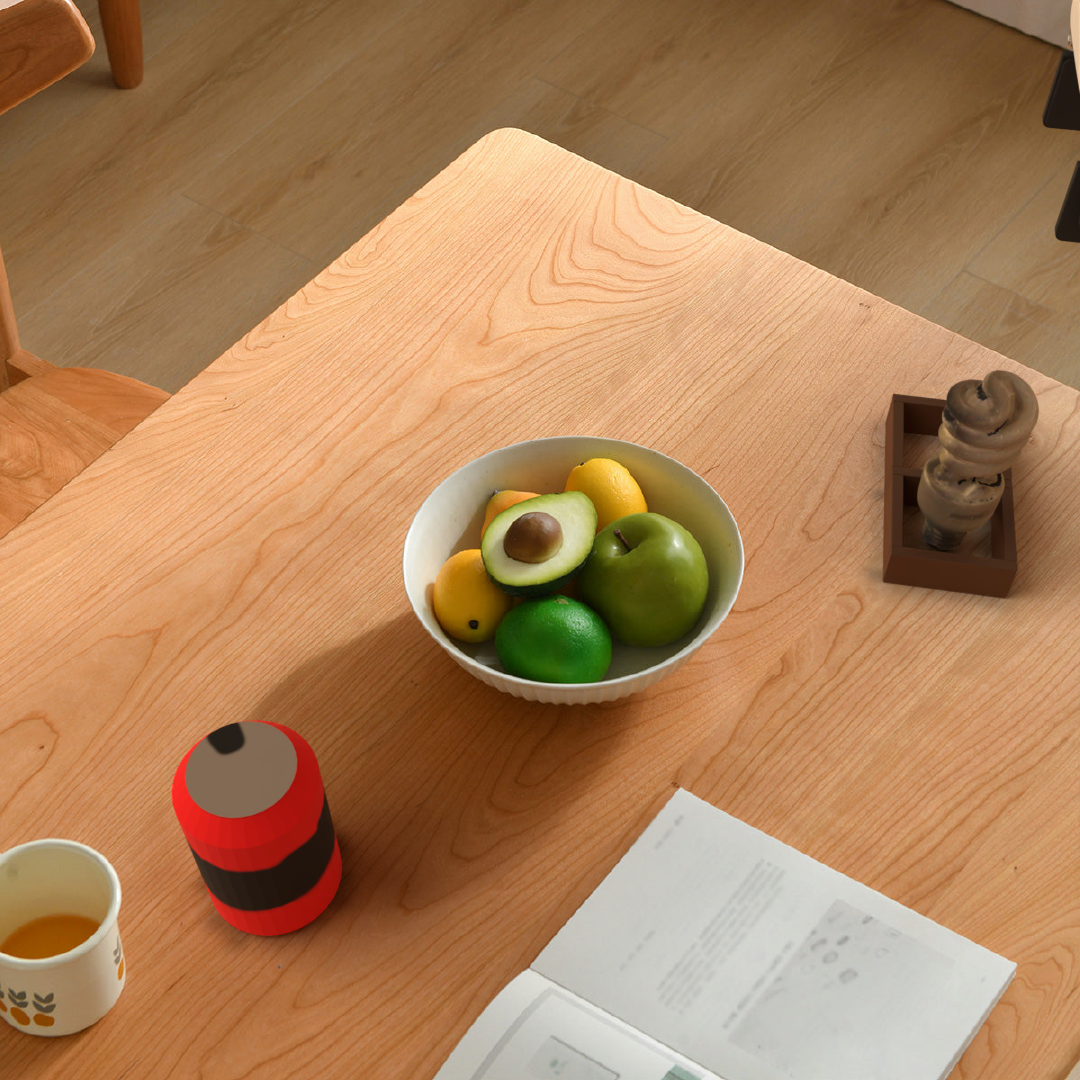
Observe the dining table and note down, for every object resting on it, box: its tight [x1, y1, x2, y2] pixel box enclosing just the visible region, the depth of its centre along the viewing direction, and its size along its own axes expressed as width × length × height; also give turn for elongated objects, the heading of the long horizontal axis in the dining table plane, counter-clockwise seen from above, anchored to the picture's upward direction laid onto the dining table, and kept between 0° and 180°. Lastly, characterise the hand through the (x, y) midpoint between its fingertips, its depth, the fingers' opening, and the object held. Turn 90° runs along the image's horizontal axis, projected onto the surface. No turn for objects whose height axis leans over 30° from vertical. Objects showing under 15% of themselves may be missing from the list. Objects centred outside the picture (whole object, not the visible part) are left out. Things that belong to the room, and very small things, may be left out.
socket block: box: [882, 393, 1019, 599], centre depth 95 cm, size 16×8×3 cm, turn 170°
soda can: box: [171, 719, 343, 937], centre depth 73 cm, size 8×8×12 cm
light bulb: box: [917, 369, 1040, 551], centre depth 88 cm, size 6×6×15 cm
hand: (1079, 181), depth 67 cm, fingers open, 9 cm apart
